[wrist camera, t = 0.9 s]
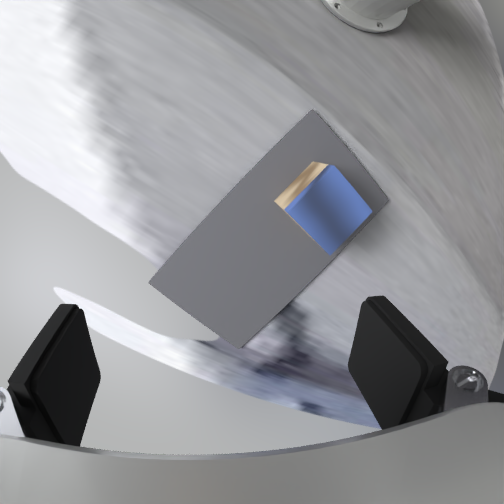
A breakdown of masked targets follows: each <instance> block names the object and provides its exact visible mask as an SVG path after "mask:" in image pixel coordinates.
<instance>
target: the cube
mask: <svg viewBox="0 0 504 504" xmlns="http://www.w3.org/2000/svg"><path fill="white" fill-rule="evenodd" d="M274 202H275V203H276V204H277V205H278V206H280V207H281V208H282V209H283V210H284V211H285V212H286V213H287V214H288V215H289V216H290V217H291V218H292V219H293V220H294V221H295V222H296V223H297V224H298V225H299V226H300V227H301V228H302V229H303V230H304V231H305V232H306V233H307V234H308V235H309V236H310V237H311V238H312V239H313V240H314V241H315V242H316V243H317V244H318V245H319V246H320V247H321V248H322V249H323V250H324V251H326V252H327V253H328V254H329V255H331V254H332V253H333V252H334V251H335V250H336V249H337V248H338V247H339V246H340V245H341V244H342V243H343V242H344V241H345V240H346V239H347V238H348V237H349V236H350V235H351V234H352V233H353V232H354V231H355V230H356V229H357V228H358V227H359V225H360V224H361V223H362V222H363V221H364V220H365V219H366V218H367V217H368V216H369V215H370V214H371V213H372V212H373V211H372V210H371V209H370V207H369V206H368V205H367V204H366V202H365V201H364V200H363V199H362V198H361V196H360V195H359V194H358V193H357V191H356V190H355V189H354V188H353V187H352V186H351V184H350V183H349V182H348V181H347V180H346V178H345V177H344V176H343V175H342V174H341V173H340V171H339V170H338V169H337V168H336V167H335V166H333V165H329V164H324V163H319V162H312V163H311V164H310V165H309V166H308V167H307V168H306V169H305V170H304V171H303V172H302V173H301V174H300V175H299V176H298V177H297V178H296V179H295V180H294V181H293V182H292V183H291V184H290V185H289V186H288V187H287V188H286V189H285V190H284V191H283V192H282V193H281V194H280V195H279V196H278V198H277V199H276V200H275V201H274Z"/></svg>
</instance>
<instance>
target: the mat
mask: <svg viewBox="0 0 504 504" xmlns="http://www.w3.org/2000/svg"><path fill="white" fill-rule="evenodd" d="M312 162H319V163H324V164H329V165H333V166H335V167H336V168H337V169H338V170H339V171H340V173H341V174H342V175H343V176H344V177H345V178H346V180H347V181H348V182H349V183H350V184H351V186H352V187H353V188H354V189H355V190H356V191H357V193H358V194H359V195H360V196H361V198H362V199H363V200H364V201H365V202H366V204H367V205H368V206H369V207H370V209H371V210H372V211H373V212H372V213H371V214H370V215H369V216H368V217H367V218H366V219H365V220H364V221H363V222H362V223H361V224H360V225H359V227H358V228H357V229H356V230H355V231H354V232H353V233H352V234H351V235H350V236H349V237H348V238H347V239H346V240H345V241H344V242H343V243H342V244H341V245H340V246H339V247H338V248H337V249H336V250H335V251H334V252H333V253H332V254H331V255H329V254H328V253H327V252H326V251H324V250H323V249H322V248H321V247H320V246H319V245H318V244H317V243H316V242H315V241H314V240H313V239H312V238H311V237H310V236H309V235H308V234H307V233H306V232H305V231H304V230H303V229H302V228H301V227H300V226H299V225H298V224H297V223H296V222H295V221H294V220H293V219H292V218H291V217H290V216H289V215H288V214H287V213H286V212H285V211H284V210H283V209H282V208H281V207H280V206H278V205H277V204H276V203H275V202H274V201H275V200H276V199H277V198H278V196H279V195H280V194H281V193H282V192H283V191H284V190H285V189H286V188H287V187H288V186H289V185H290V184H291V183H292V182H293V181H294V180H295V179H296V178H297V177H298V176H299V175H300V174H301V173H302V172H303V171H304V170H305V169H306V168H307V167H308V166H309V165H310V164H311V163H312ZM388 201H389V200H388V198H387V197H386V196H385V194H384V193H383V192H382V190H381V189H380V188H379V186H378V185H377V184H376V183H375V181H374V180H373V179H372V177H371V176H370V175H369V174H368V172H367V171H366V170H365V169H364V167H363V166H362V165H361V164H360V162H359V161H358V160H357V159H356V158H355V156H354V155H353V154H352V153H351V152H350V150H349V149H348V148H347V147H346V146H345V145H344V143H343V142H342V141H341V140H340V139H339V138H338V137H337V135H336V134H335V133H334V132H333V131H332V130H331V129H330V128H329V126H328V125H327V124H326V123H325V122H324V121H323V120H322V119H321V118H320V117H319V115H318V114H317V113H316V112H315V111H314V110H311V111H310V112H309V113H308V114H307V115H306V116H305V117H304V118H303V119H302V120H301V121H299V122H298V123H297V124H296V125H295V126H294V127H293V128H292V129H291V130H290V131H289V132H288V133H287V134H286V135H285V136H284V137H283V138H282V139H281V140H280V141H279V142H278V143H277V144H276V145H275V146H274V147H273V148H272V149H271V150H270V151H269V152H268V153H267V154H266V155H265V156H264V157H263V158H262V159H261V160H260V161H259V162H258V163H257V164H256V165H255V166H254V167H253V168H252V169H251V170H250V171H249V172H248V173H247V174H246V175H245V177H244V178H243V179H242V180H241V181H240V182H239V183H238V184H237V185H236V186H235V187H234V188H233V189H232V190H231V191H230V192H229V193H228V194H227V195H226V196H225V197H224V199H223V200H222V201H221V202H220V203H219V204H218V205H217V206H216V207H215V208H214V209H213V210H212V211H211V212H210V214H209V215H208V216H207V217H206V218H205V219H204V220H203V221H202V222H201V223H200V224H199V225H198V227H197V228H196V229H195V230H194V231H193V232H192V233H191V234H190V235H189V236H188V238H187V239H186V240H185V241H184V242H183V243H182V244H181V245H180V247H179V248H178V249H177V250H176V251H175V252H174V253H173V254H172V256H171V257H170V258H169V259H168V260H167V261H166V262H165V263H164V265H163V266H162V267H161V268H160V269H159V270H158V272H157V273H156V274H155V275H154V276H153V277H152V278H151V280H150V281H149V284H151V285H152V286H153V287H154V288H156V289H157V290H158V291H160V292H161V293H162V294H163V295H165V296H166V297H167V298H169V299H170V300H171V301H172V302H174V303H175V304H177V305H178V306H179V307H181V308H182V309H183V310H184V311H186V312H187V313H188V314H190V315H191V316H193V317H194V318H195V319H197V320H198V321H199V322H201V323H202V324H204V325H205V326H207V327H208V328H209V329H211V330H212V331H213V332H215V333H216V334H218V335H219V336H220V337H222V338H223V339H225V340H226V341H228V342H229V343H230V344H232V345H233V346H235V347H236V348H238V349H240V348H241V347H242V346H243V345H244V344H245V343H246V342H247V341H248V340H250V339H251V338H252V337H253V336H254V335H255V334H256V333H257V332H258V331H259V330H260V329H261V328H263V327H264V326H265V325H266V324H267V323H268V322H269V321H270V320H271V319H272V318H273V317H274V316H275V315H276V314H277V313H279V312H280V311H281V310H282V309H283V308H284V307H285V306H286V305H287V304H288V303H289V302H290V301H291V300H292V299H293V298H294V297H295V296H296V295H297V294H298V293H299V292H300V291H301V290H302V289H304V288H305V287H306V286H307V285H308V284H309V283H310V282H311V281H312V280H313V279H314V278H315V277H316V276H317V275H318V274H319V273H320V272H321V271H322V270H323V269H324V268H325V267H326V266H327V265H328V264H329V263H330V262H331V261H332V260H333V259H334V258H335V257H336V256H337V255H338V254H339V253H340V251H341V250H342V249H343V248H344V247H345V246H346V245H347V244H348V243H349V242H350V241H351V240H352V239H353V238H354V237H355V236H356V235H357V234H358V233H359V232H360V231H361V230H362V229H363V228H364V227H365V225H366V224H367V223H368V222H369V221H370V220H371V219H372V218H373V217H374V216H375V215H376V214H377V213H378V212H379V210H380V209H381V208H382V207H383V206H384V205H385V204H386V203H387V202H388Z"/></svg>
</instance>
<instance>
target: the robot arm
mask: <svg viewBox="0 0 504 504" xmlns="http://www.w3.org/2000/svg"><path fill="white" fill-rule="evenodd" d="M321 1H322V2H323V4H324V5H325V6H326V7H327V8H328V9H329V10H330V11H331V12H332V13H333V14H334V15H335V16H336V17H338V18H339V19H340V20H342V21H343V22H345V23H347V24H348V25H350V26H353V27H355V28H357V29H360V30H363V31H367V32H374V33H381V32H387V31H390V30H392V29H394V28H396V27H398V26H399V25H400V24H402V22H403V21H404V20H405V18H406V15H407V12H408V7H409V6H411V5H413V4H415V3H417V2H419V1H421V0H321ZM335 7H336V8H335ZM447 364H448V361H447V360H446V359H445V358H444V357H443V355H442V354H441V353H440V352H439V351H438V350H437V349H436V348H435V347H434V346H433V345H432V344H431V343H430V342H429V341H428V340H427V339H426V338H425V337H424V336H423V334H422V333H421V332H420V331H419V330H418V329H417V328H416V327H415V326H414V325H413V324H412V323H411V322H410V321H409V320H408V319H407V318H406V317H405V316H404V315H403V314H402V313H401V312H400V311H399V310H398V309H397V308H396V307H395V306H394V305H393V304H392V303H391V302H390V301H389V300H388V299H387V298H386V297H385V296H372V297H368V298H367V299H366V301H364V302H363V303H362V305H361V309H360V314H359V319H358V323H357V328H356V332H355V337H354V341H353V345H352V349H351V353H350V357H349V362H348V369H349V372H350V374H351V375H352V377H353V379H354V381H355V382H356V384H357V386H358V388H359V389H360V391H361V393H362V395H363V396H364V398H365V400H366V402H367V404H368V405H369V407H370V409H371V411H372V412H373V414H374V416H375V418H376V420H377V421H378V423H379V425H380V427H381V428H382V430H380V431H376V432H372V433H368V434H364V435H360V436H355V437H350V438H346V439H341V440H337V441H331V442H326V443H320V444H314V445H308V446H301V447H294V448H287V449H279V450H270V451H261V452H249V453H235V454H213V455H166V454H144V453H130V452H119V451H109V450H101V449H93V448H85V447H80V443H81V440H82V436H83V433H84V430H85V427H86V423H87V420H88V417H89V414H90V411H91V407H92V404H93V401H94V398H95V395H96V392H97V389H98V386H99V383H100V379H101V375H100V370H99V367H98V363H97V360H96V357H95V353H94V350H93V346H92V342H91V339H90V335H89V331H88V327H87V323H86V319H85V315H84V311H83V310H82V309H79V307H78V305H76V304H60V305H59V307H58V308H57V309H56V311H55V312H54V313H53V315H52V316H51V318H50V319H49V320H48V322H47V323H46V325H45V326H44V327H43V329H42V330H41V331H40V333H39V334H38V336H37V337H36V339H35V340H34V341H33V343H32V344H31V346H30V347H29V349H28V350H27V352H26V353H25V355H24V356H23V358H22V359H21V361H20V363H19V364H18V366H17V367H16V369H15V370H14V372H13V373H12V375H11V377H10V378H9V380H8V383H9V387H8V388H7V390H6V389H4V388H2V387H0V504H504V394H501V393H497V392H494V391H490V390H488V384H487V380H486V378H485V377H484V375H483V374H482V373H481V372H479V371H478V370H476V369H474V368H472V367H469V366H456V367H453V368H452V369H451V370H450V371H448V370H447V369H446V366H447Z"/></svg>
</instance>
